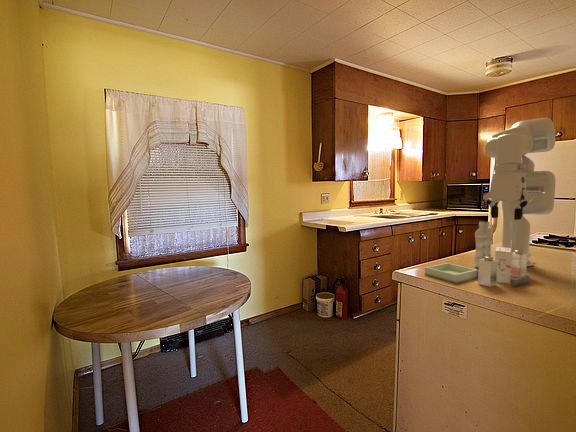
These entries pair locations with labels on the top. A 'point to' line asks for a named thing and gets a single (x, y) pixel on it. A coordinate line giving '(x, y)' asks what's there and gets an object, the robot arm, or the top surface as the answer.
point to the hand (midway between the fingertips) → (505, 218)
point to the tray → (451, 272)
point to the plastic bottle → (482, 242)
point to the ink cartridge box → (504, 264)
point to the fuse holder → (489, 270)
